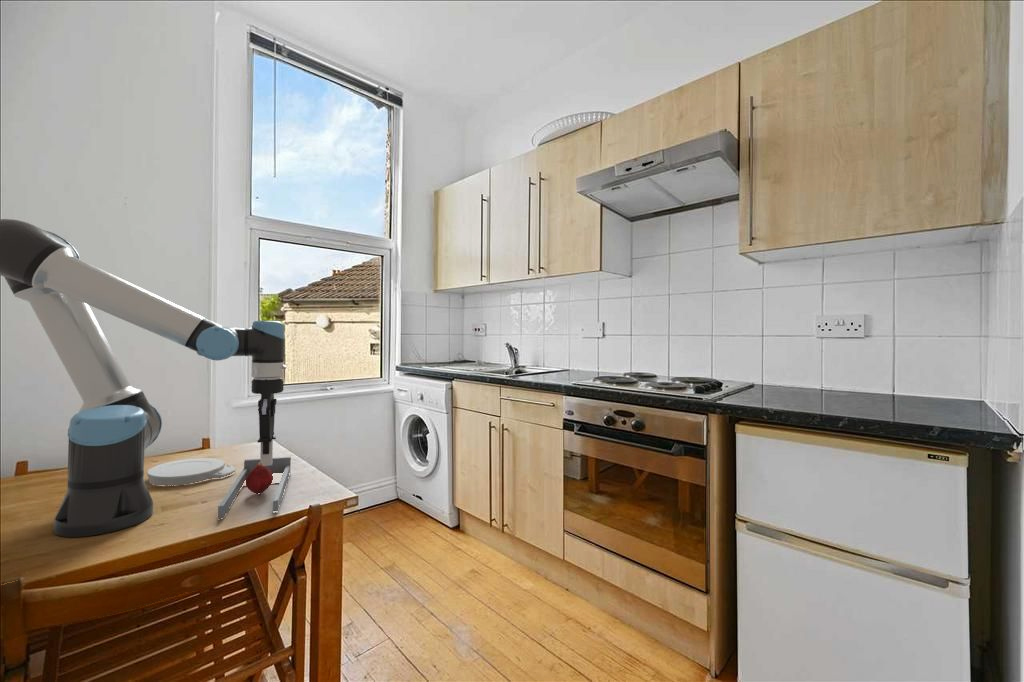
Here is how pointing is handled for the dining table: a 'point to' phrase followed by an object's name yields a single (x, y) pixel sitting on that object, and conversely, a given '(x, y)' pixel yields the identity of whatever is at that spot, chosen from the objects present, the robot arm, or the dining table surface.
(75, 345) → the robot arm
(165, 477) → the lid
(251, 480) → the onion
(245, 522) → the dining table surface
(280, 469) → the channel
